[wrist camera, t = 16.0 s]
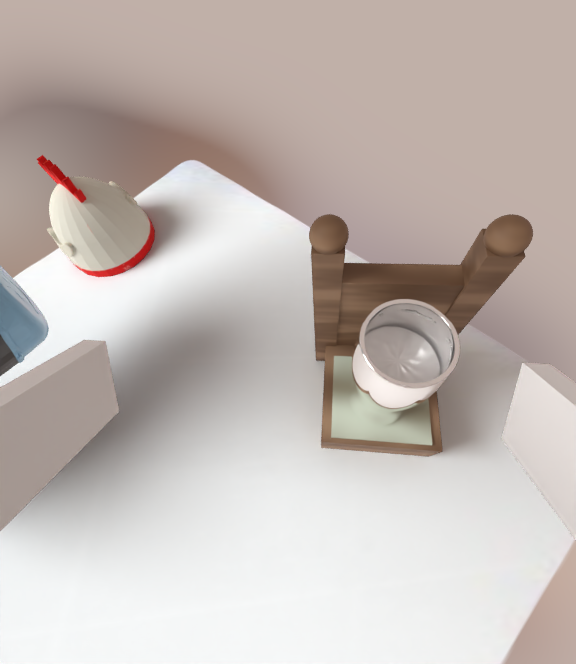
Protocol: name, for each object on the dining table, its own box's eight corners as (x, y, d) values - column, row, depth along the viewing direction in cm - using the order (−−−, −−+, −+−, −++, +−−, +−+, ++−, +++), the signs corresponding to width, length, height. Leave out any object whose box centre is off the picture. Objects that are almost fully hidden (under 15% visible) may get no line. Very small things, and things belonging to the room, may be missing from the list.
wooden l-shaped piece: (441, 457, 38) (597, 411, 17) (309, 446, 40) (294, 392, 18) (430, 347, 44) (537, 205, 22) (315, 342, 46) (309, 205, 24)
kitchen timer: (122, 199, 61) (65, 115, 47) (171, 235, 56) (123, 153, 43) (57, 249, 57) (-25, 174, 44) (104, 292, 52) (28, 222, 39)
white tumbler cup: (383, 445, 34) (423, 414, 21) (330, 399, 37) (335, 344, 23) (423, 394, 36) (485, 336, 22) (371, 354, 38) (397, 279, 25)
